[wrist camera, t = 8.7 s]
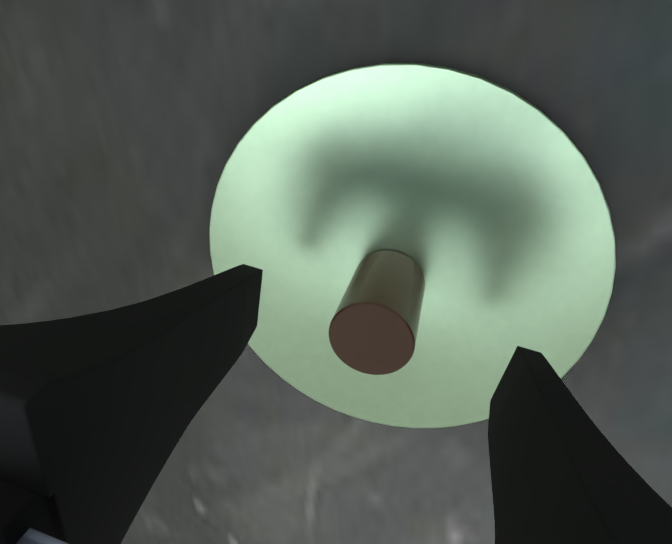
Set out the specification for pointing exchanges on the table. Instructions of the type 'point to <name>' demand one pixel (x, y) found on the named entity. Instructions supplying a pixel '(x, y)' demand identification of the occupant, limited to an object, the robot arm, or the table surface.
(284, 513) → the table surface
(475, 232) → the pot lid
